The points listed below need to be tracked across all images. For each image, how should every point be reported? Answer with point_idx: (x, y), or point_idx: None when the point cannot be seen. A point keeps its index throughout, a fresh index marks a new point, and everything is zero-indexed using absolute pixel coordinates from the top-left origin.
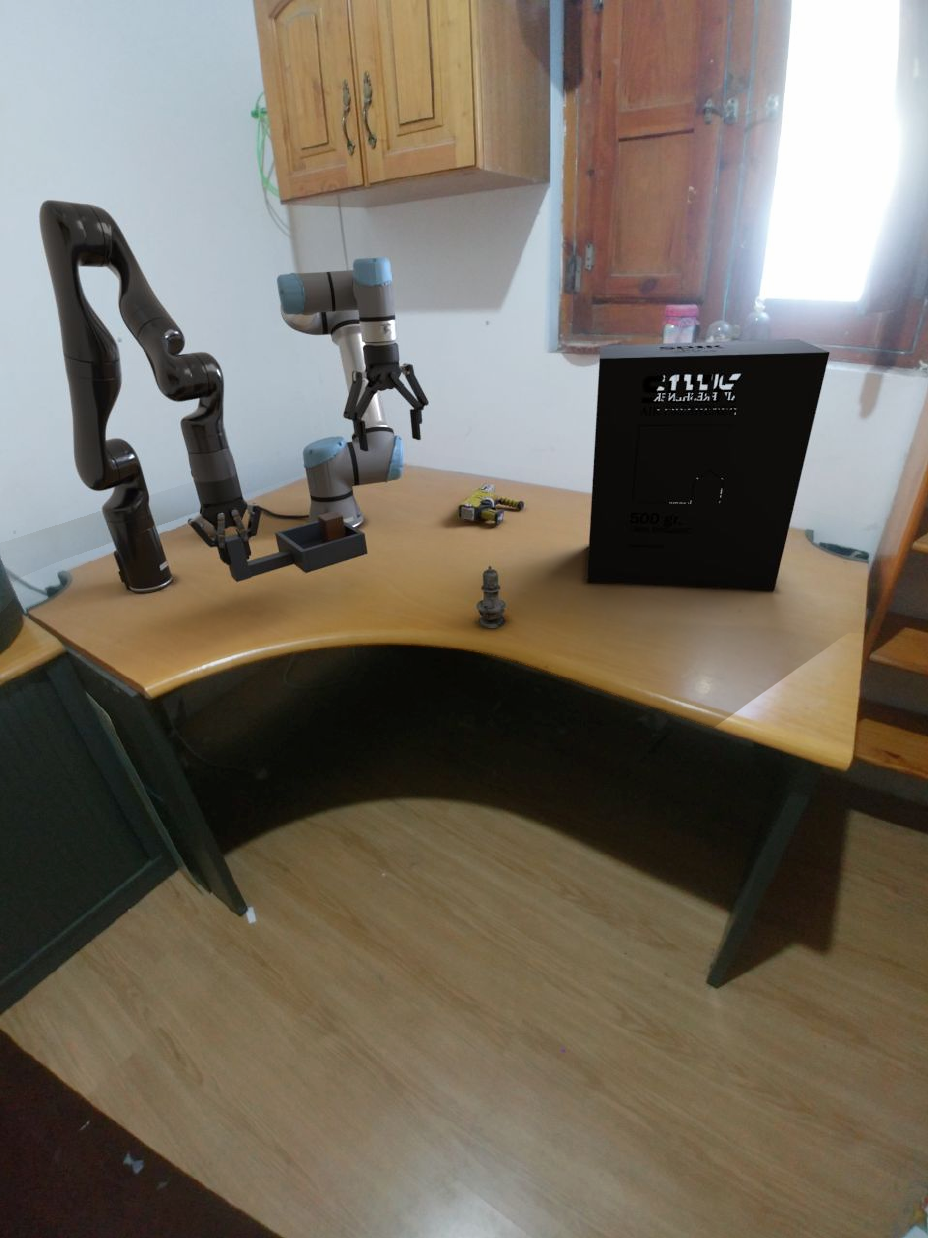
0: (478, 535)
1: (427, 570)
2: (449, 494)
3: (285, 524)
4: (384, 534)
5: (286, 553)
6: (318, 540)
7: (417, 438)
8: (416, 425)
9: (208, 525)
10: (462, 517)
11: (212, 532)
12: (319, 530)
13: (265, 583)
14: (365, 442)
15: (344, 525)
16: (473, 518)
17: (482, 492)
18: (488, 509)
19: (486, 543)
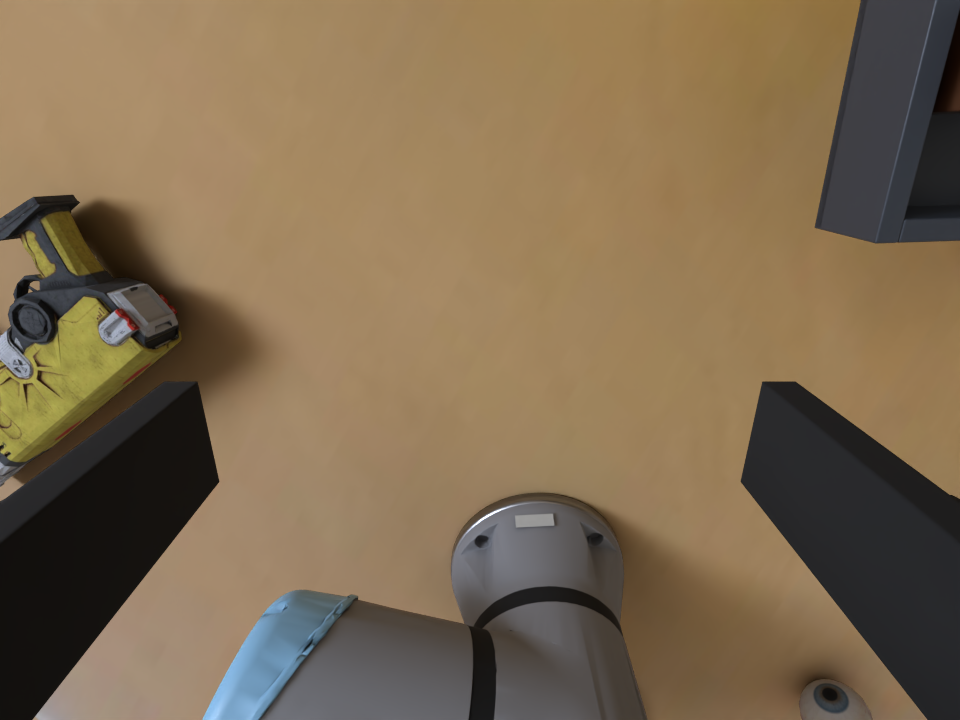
0: (179, 180)
1: (498, 17)
2: None
3: (642, 645)
4: (456, 410)
5: None
6: (934, 199)
7: (192, 398)
8: (104, 470)
9: (862, 705)
10: (173, 315)
11: (841, 684)
12: (952, 210)
13: (931, 315)
14: (838, 422)
15: (944, 66)
16: (137, 285)
17: (7, 426)
18: (51, 275)
19: (184, 86)
